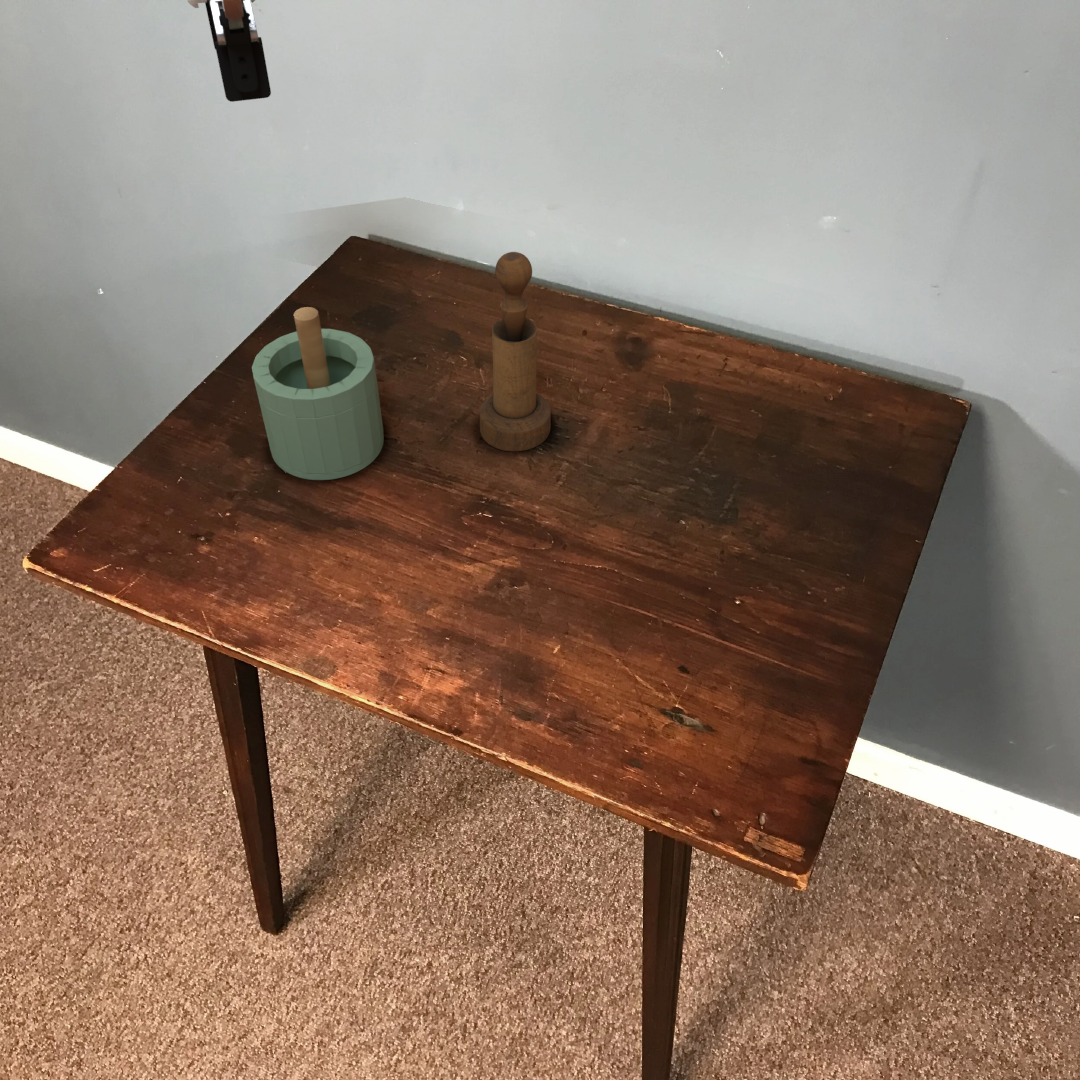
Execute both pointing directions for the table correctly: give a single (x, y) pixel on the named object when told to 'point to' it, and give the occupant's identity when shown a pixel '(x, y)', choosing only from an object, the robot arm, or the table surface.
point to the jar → (320, 407)
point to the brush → (312, 347)
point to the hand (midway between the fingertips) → (242, 72)
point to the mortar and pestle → (514, 368)
